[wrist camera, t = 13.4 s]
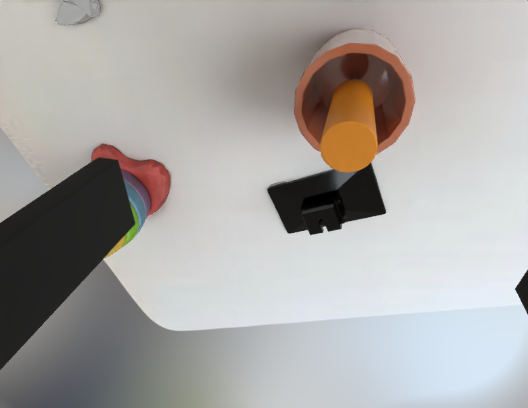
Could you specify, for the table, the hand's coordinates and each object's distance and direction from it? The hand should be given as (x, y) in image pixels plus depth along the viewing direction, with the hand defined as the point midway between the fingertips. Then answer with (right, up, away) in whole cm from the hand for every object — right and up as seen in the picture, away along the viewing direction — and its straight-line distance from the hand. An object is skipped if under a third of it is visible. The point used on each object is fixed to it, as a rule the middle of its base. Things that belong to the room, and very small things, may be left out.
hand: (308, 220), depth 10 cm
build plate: (+6, +1, +29) cm, 29 cm away
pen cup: (+7, +12, +20) cm, 25 cm away
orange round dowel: (+7, +12, +20) cm, 24 cm away
